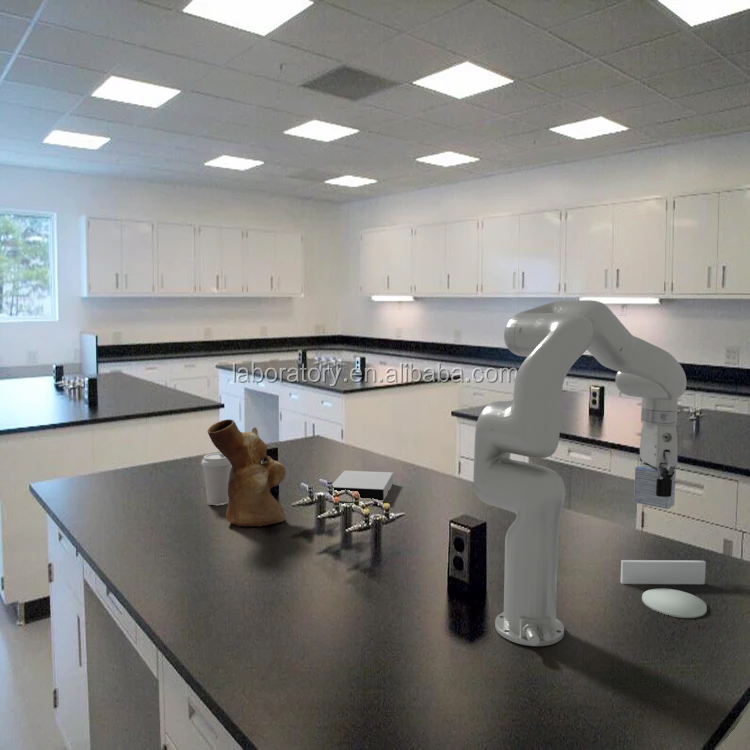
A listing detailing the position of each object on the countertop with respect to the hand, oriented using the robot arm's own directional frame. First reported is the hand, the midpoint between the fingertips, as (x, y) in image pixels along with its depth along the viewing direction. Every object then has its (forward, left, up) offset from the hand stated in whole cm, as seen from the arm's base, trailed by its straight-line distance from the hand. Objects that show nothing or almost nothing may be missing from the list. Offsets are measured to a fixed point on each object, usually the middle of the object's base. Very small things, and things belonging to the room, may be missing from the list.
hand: (654, 490), depth 148 cm
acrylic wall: (-10, +2, -18) cm, 21 cm away
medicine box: (0, 0, -3) cm, 3 cm away
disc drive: (+59, +70, -19) cm, 94 cm away
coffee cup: (+47, +115, -18) cm, 125 cm away
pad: (-20, +4, -18) cm, 27 cm away
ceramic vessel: (+29, +102, -18) cm, 107 cm away
